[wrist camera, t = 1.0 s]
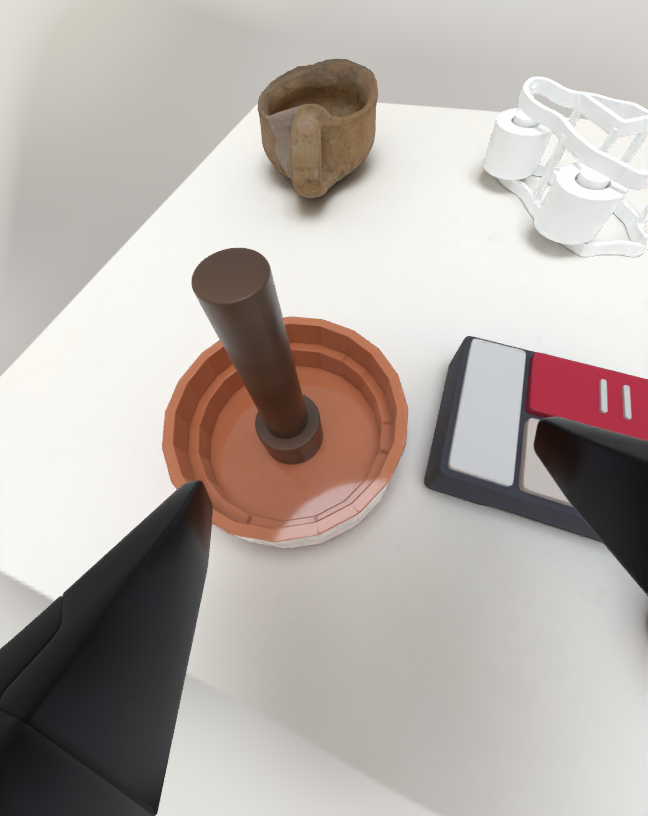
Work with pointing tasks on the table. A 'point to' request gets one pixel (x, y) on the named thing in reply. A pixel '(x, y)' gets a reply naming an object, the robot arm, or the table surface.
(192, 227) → the table surface
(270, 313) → the pestle
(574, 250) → the wheeled car silhouette
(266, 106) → the tan clay cup
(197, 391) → the mixing bowl
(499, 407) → the calculator
